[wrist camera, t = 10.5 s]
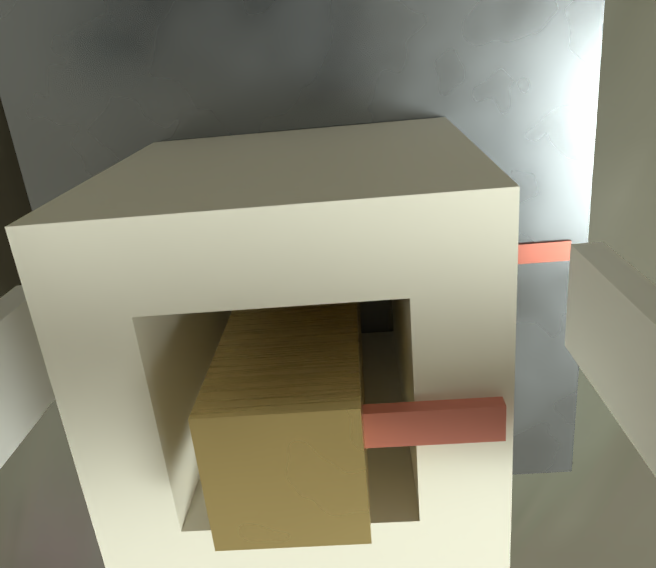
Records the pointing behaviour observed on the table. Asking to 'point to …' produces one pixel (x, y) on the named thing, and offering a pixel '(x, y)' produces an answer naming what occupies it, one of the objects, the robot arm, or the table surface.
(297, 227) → the cream open box
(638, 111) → the table surface
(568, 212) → the base plate
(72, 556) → the table surface
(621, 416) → the robot arm
